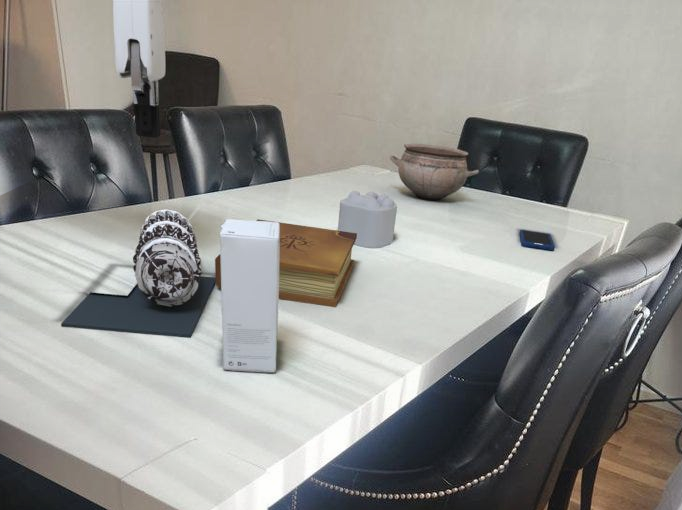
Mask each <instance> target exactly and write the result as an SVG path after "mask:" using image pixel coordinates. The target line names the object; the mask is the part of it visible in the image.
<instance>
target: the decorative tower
mask: <svg viewBox="0 0 682 510" xmlns="http://www.w3.org/2000/svg"><path fill="white" fill-rule="evenodd" d="M132 262H133V263H134V265H133V272H134V276H135V281H136V284H137V283H138V286H139V288H140V290H141V291H142V292H143V293H144V295H145V296H146V297H147V298H148V299H150V300H152V301H153V302H155V303H157V304H160V305H165V306H175V305H180V304H183V303H184V302H186V301H187V300H189V299H190V298H192V296H193V295H194V293H195V291H196V290H197V288H198V283H199V276H202V273H203V272H202V268H201V264H202V260H201V257H200V253H199V250H198V244H197V237H196V234H195V229H194V227H193V226H192V224H191V222H190V221H189V220H188V218H187V217H186V216H184V215H183V214H181V213H180V212H178V211H175V210H171V209H167V208H165V209H160V210H155V211H154V212H152V213H151V214H150V215H148V216H147V217H146V218H145V220H144V221H143V224H142V226H141V229H140V234H139V241H138V243H137V245H136V248H135V252H134V254H133V256H132Z"/></svg>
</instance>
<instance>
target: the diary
mask: <svg viewBox="0 0 682 510" xmlns="http://www.w3.org/2000/svg"><path fill="white" fill-rule="evenodd" d="M255 221H266V222H274V221H273V220H266V219H260V218H259V219H256V220H255ZM276 222H277V223H279V226H280V259H279V300H285V301H292V302H298V303H305V304H312V305H319V306H325V307H331V308H332V307H333V308H337V306H338V303H339V301H340V299H341V296H342V294H343V291H344V290H345V287H346V285H347V283H348V280H349V278H350V275H351V273H352V270H353V268H354V266H355V259H352V252H353V247H354V245H355V244H354V243H355V241H356V239H357V233H351V232H344V231H338V229H337V230H336V229H328V228H322V227H315V226H308V225H301V224H295V223H294V224H293V223H288V222H287V223H286V222H280V221H276ZM214 271H215V272H214V273H215V275H214V276H215V280H216V283H215V285H216V286H217V287H218V289H219V290H220V291H221V258H220V253H219V254H218V255H217V257H215V259H214Z"/></svg>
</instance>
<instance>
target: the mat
mask: <svg viewBox="0 0 682 510" xmlns="http://www.w3.org/2000/svg"><path fill="white" fill-rule="evenodd" d="M215 285H216V280H215V277H214V276H205V275H200V276H199V283H198V288H197V290H196V291H195V293H194V295H193V296H192V298H190V299H189V300H187V301H186V302H184V303H183V304H180V305H175V306H165V305H160V304H157V303H155V302H153V301H152V300H150V299H148V298H147V297H146V296H145V295H144V293H143V292H142V291H141V290H140V288H139V286H138V283H137V282H136V283H135V285H134V287H133V288H131V290H130V291H129V293H128V294H127V295H123V294H113V293H101V292H100V293H99V292H89V293H88V294H87V295H86V296H85V297H84V298H83V299H82V301H81V302H80V303H79V304H78V305H77V306H76V307H75V308H74V309H73V310H72V311H71V312H70V314H69V315H67V316H66V318H64V320H63V321H62V322H61V323H60V325H61V327H63V328H76V329H78V328H79V329H87V330H97V331H98V330H99V331H111V332H121V333H122V332H123V333H132V334H133V333H135V334H146V335H158V336H168V337H169V336H171V337H182V338H191V337H192V335H193V333H194V330H195V329H196V327H197V324H198V322H199V320H200V318H201V315H202V313H203V311H204V309H205V307H206V305H207V302H208V300H209V298H210V296H211V294H212V291H213V290H214V287H215Z"/></svg>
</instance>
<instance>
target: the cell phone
mask: <svg viewBox="0 0 682 510" xmlns="http://www.w3.org/2000/svg"><path fill="white" fill-rule="evenodd" d="M519 238H520V243H521V246H522V247H528V248H535V249H542V250H546V251H548V250H549V251H555V248H556V245H555V243H554V240H553V237H552V235H551V233H549V232H548V233H547V232H542V231H534V230H527V229H520V230H519Z"/></svg>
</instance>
